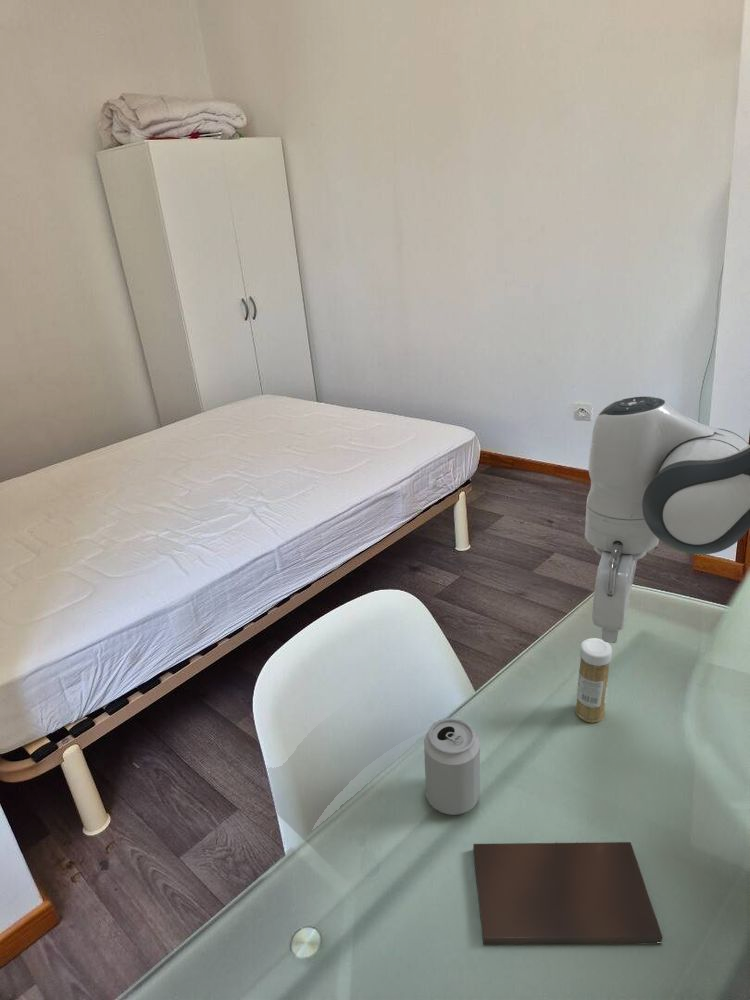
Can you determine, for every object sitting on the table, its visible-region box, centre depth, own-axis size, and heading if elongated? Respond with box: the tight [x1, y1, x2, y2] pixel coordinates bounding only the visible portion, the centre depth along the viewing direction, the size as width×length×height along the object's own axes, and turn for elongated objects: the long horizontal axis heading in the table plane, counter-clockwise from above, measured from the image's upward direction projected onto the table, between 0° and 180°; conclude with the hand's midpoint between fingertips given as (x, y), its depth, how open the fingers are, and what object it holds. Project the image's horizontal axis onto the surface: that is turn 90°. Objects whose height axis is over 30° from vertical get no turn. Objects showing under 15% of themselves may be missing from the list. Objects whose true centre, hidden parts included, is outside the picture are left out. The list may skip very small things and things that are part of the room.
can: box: [423, 717, 481, 816], centre depth 94 cm, size 8×8×12 cm
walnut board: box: [472, 841, 664, 945], centre depth 83 cm, size 20×12×1 cm, turn 88°
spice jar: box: [574, 637, 613, 724], centre depth 106 cm, size 5×5×13 cm
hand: (614, 619), depth 91 cm, fingers open, 8 cm apart
